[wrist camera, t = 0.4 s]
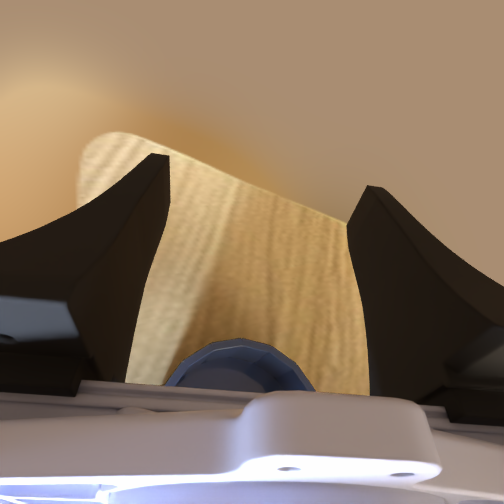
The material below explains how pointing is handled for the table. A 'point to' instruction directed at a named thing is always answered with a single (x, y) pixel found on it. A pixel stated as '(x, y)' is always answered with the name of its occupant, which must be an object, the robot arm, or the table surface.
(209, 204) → the table surface
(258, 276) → the table surface
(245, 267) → the table surface
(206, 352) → the blue measuring scoop
